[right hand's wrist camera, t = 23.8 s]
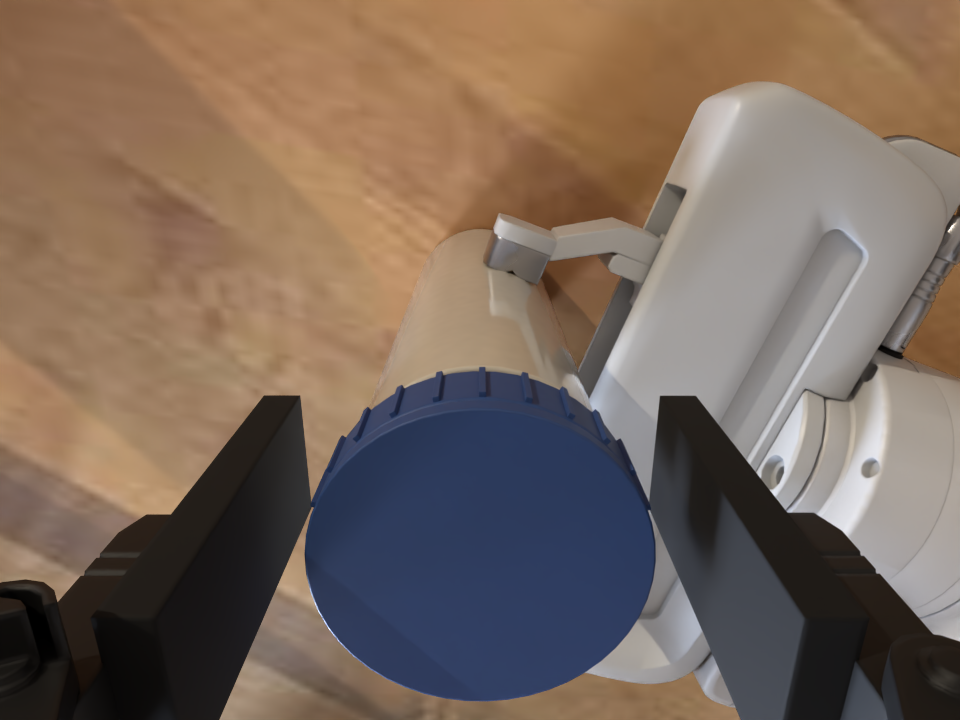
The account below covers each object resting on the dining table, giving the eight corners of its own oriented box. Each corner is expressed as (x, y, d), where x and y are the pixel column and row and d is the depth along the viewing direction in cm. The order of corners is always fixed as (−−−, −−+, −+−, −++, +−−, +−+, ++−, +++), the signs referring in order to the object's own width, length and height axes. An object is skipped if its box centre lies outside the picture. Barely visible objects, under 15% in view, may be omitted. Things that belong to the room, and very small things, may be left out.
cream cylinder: (482, 201, 26) (485, 332, 10) (566, 292, 28) (689, 537, 11) (393, 288, 28) (270, 528, 11) (478, 371, 29) (475, 693, 13)
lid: (595, 322, 11) (614, 356, 9) (668, 596, 13) (693, 661, 11) (272, 418, 11) (240, 463, 10) (387, 665, 13) (374, 736, 12)
